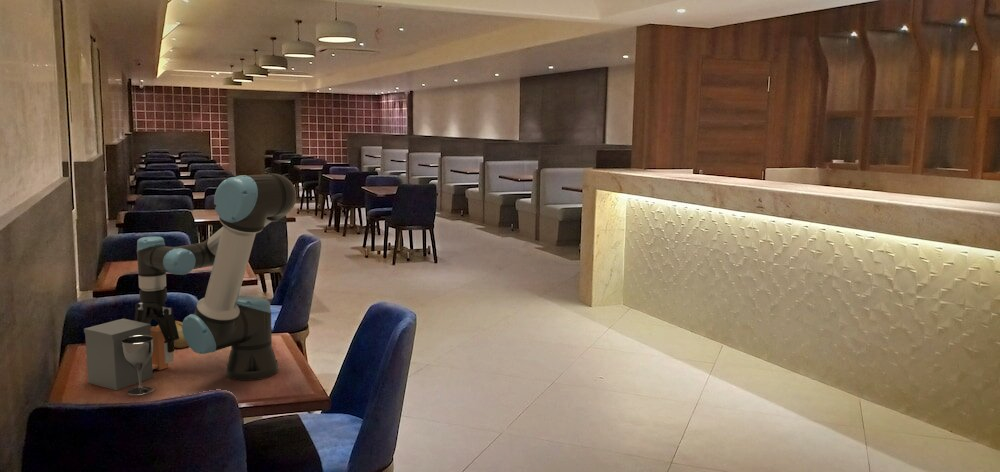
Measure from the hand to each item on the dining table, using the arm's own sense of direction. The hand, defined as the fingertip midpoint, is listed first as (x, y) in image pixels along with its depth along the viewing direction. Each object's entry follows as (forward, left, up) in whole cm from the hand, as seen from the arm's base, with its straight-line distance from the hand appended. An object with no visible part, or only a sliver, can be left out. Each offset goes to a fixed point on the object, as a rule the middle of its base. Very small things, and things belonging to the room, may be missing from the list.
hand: (156, 359), depth 233 cm
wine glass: (-12, +15, -3) cm, 20 cm away
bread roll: (+15, -18, -3) cm, 24 cm away
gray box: (0, +12, -3) cm, 13 cm away
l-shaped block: (0, +4, -2) cm, 5 cm away
